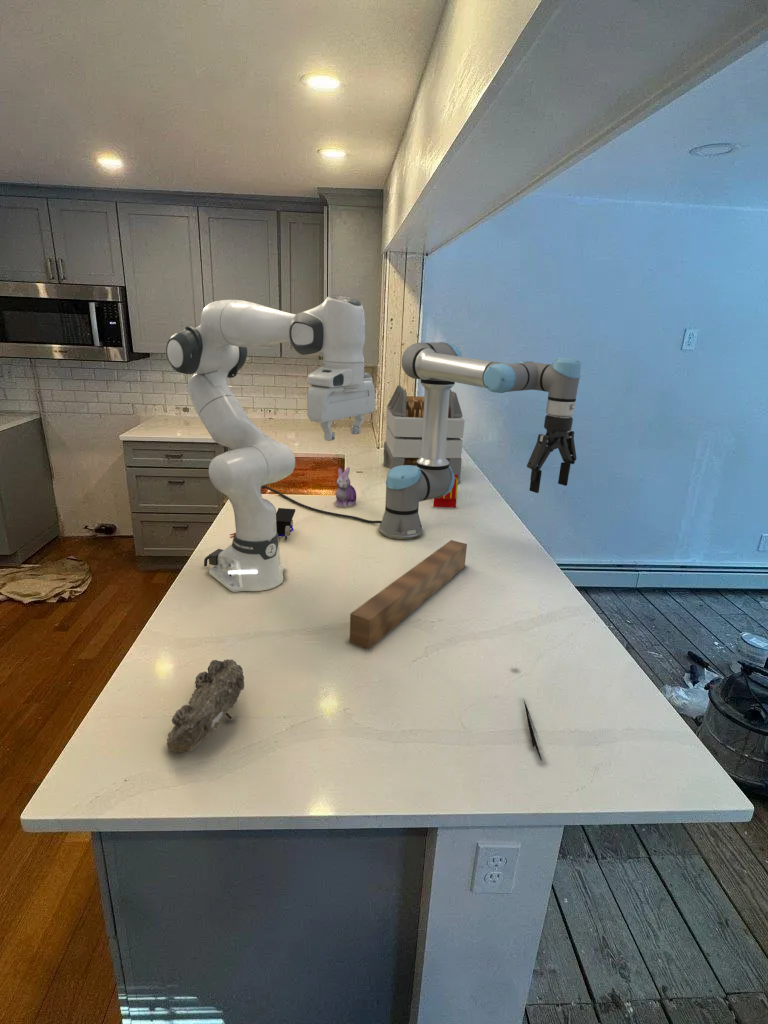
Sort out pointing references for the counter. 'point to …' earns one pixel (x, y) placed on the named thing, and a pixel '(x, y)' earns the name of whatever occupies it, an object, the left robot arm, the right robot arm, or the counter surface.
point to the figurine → (345, 490)
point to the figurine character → (284, 522)
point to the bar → (405, 594)
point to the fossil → (206, 705)
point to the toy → (448, 497)
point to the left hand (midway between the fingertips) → (342, 437)
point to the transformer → (418, 431)
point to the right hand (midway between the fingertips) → (548, 488)
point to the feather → (532, 731)
